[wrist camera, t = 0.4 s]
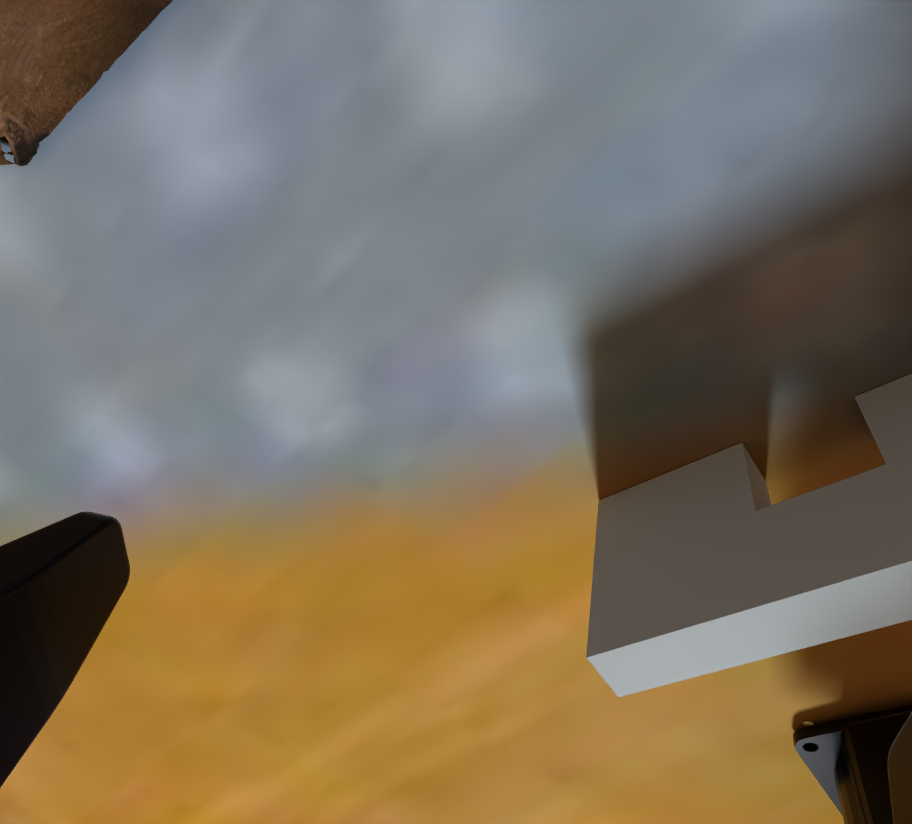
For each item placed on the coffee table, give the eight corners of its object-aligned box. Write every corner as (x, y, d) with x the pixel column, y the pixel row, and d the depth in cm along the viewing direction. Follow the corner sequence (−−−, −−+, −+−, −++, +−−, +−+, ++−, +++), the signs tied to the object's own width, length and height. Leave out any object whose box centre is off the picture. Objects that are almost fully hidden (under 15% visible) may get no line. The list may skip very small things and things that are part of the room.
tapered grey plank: (1076, 364, 17) (1250, 530, 12) (623, 535, 23) (618, 697, 18) (1057, 314, 17) (1228, 466, 12) (598, 500, 22) (586, 657, 17)
